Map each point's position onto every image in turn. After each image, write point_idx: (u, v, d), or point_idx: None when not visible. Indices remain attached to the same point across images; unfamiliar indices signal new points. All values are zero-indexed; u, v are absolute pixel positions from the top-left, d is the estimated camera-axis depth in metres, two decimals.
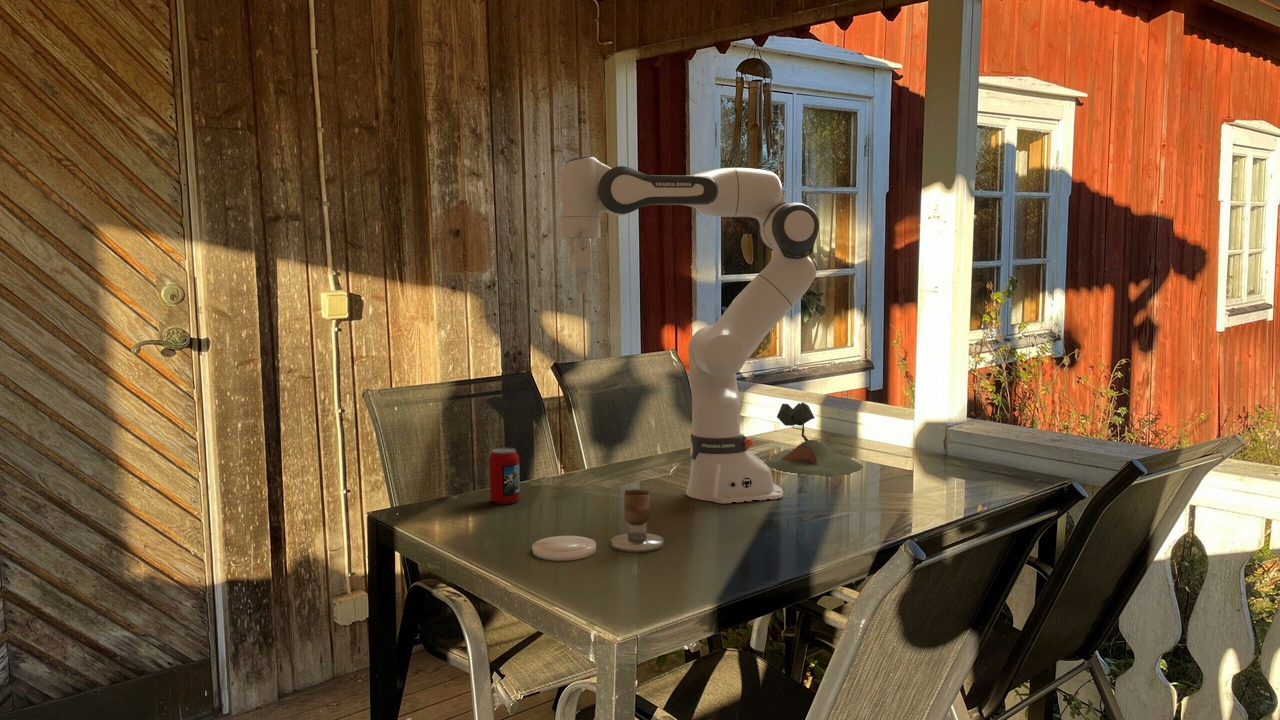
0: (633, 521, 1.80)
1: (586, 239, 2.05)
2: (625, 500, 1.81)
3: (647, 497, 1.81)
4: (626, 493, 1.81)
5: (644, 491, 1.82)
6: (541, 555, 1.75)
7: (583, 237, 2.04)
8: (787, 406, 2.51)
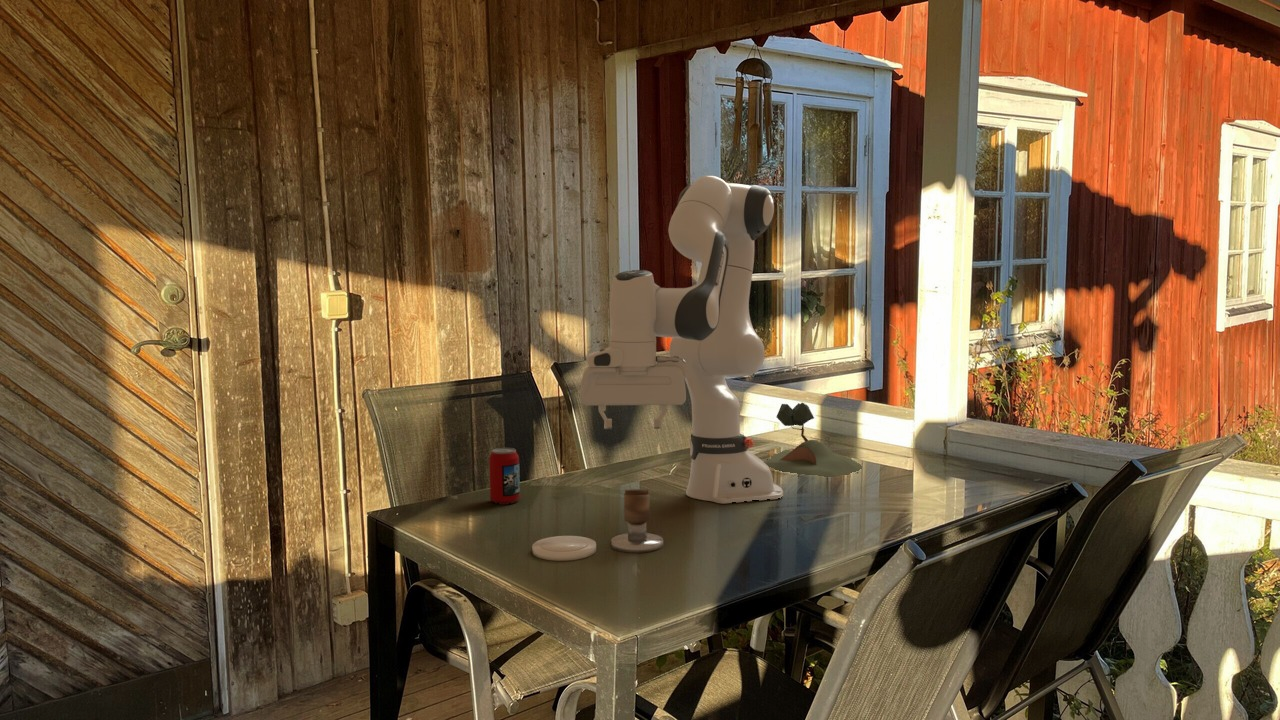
0: (633, 521, 1.80)
1: None
2: (625, 500, 1.81)
3: (647, 497, 1.81)
4: (626, 493, 1.81)
5: (644, 491, 1.82)
6: (541, 555, 1.75)
7: None
8: (787, 406, 2.51)
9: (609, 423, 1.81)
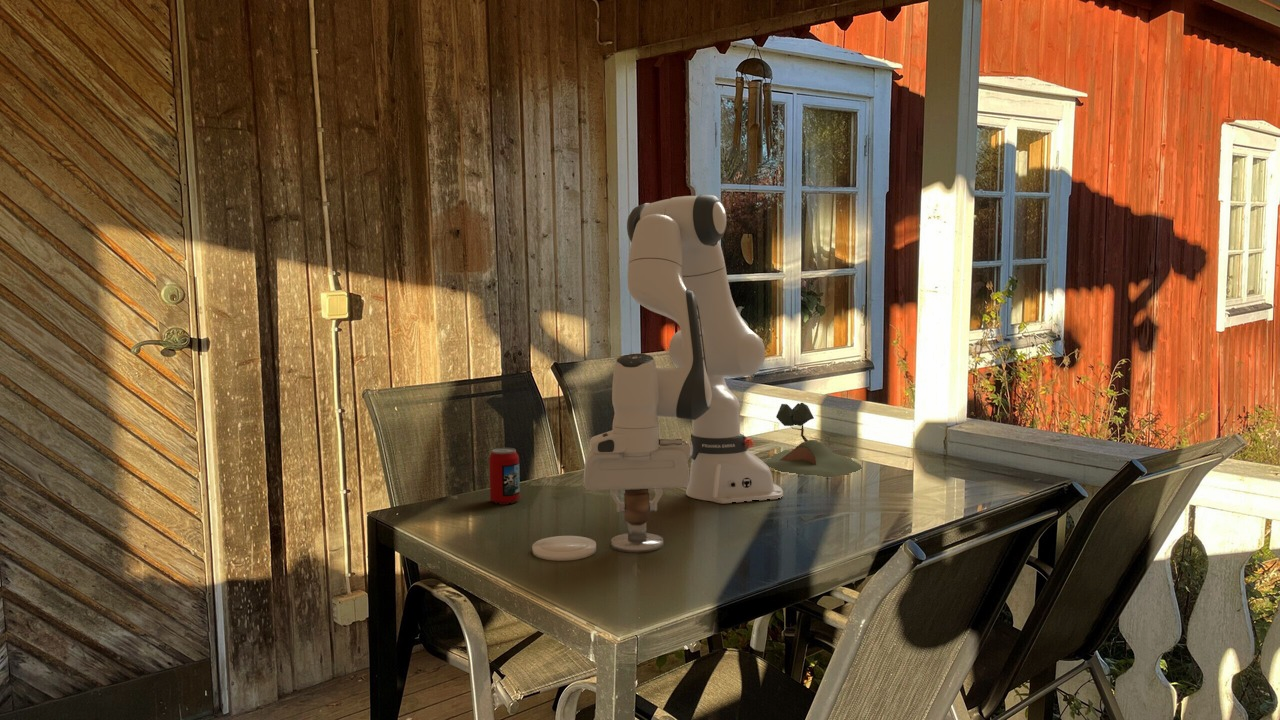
0: (633, 521, 1.80)
1: None
2: (625, 500, 1.81)
3: (647, 497, 1.81)
4: (626, 493, 1.81)
5: (644, 491, 1.82)
6: (541, 555, 1.75)
7: None
8: (786, 406, 2.51)
9: (622, 507, 1.81)
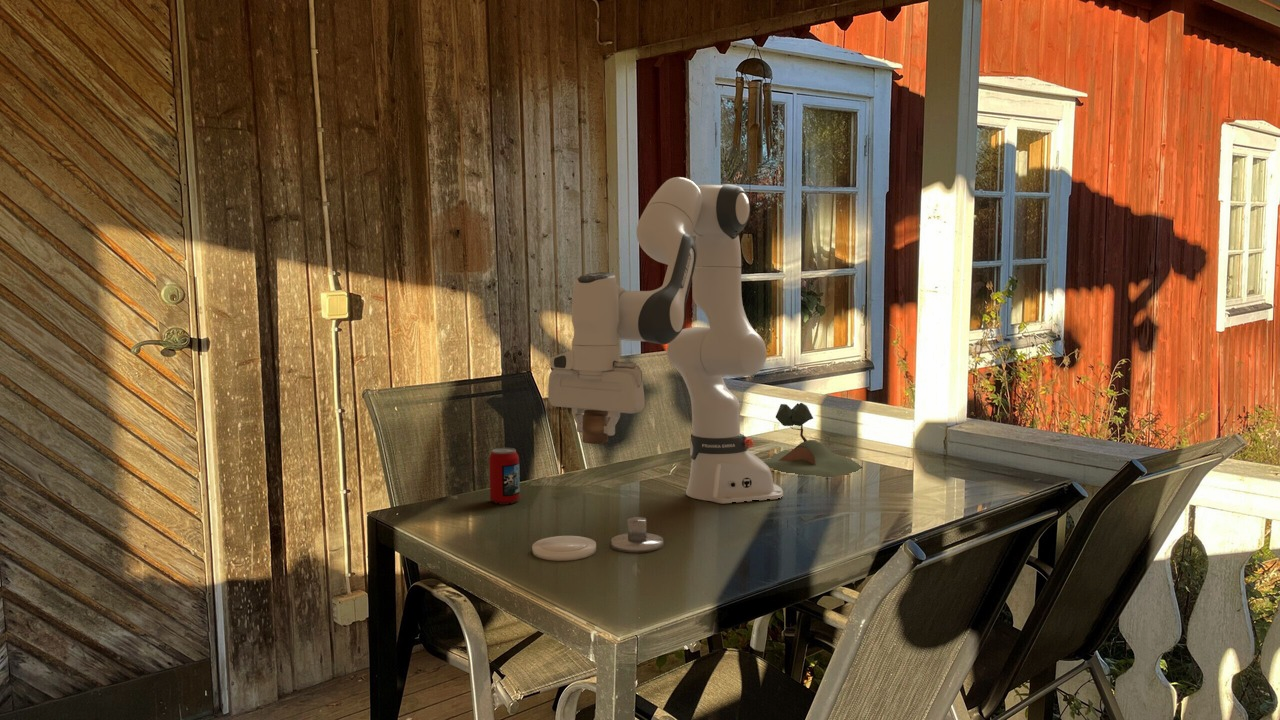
0: (585, 441, 1.77)
1: None
2: None
3: (600, 419, 1.76)
4: (585, 413, 1.79)
5: (600, 413, 1.77)
6: (541, 555, 1.75)
7: (641, 372, 1.72)
8: (786, 406, 2.51)
9: (580, 426, 1.79)
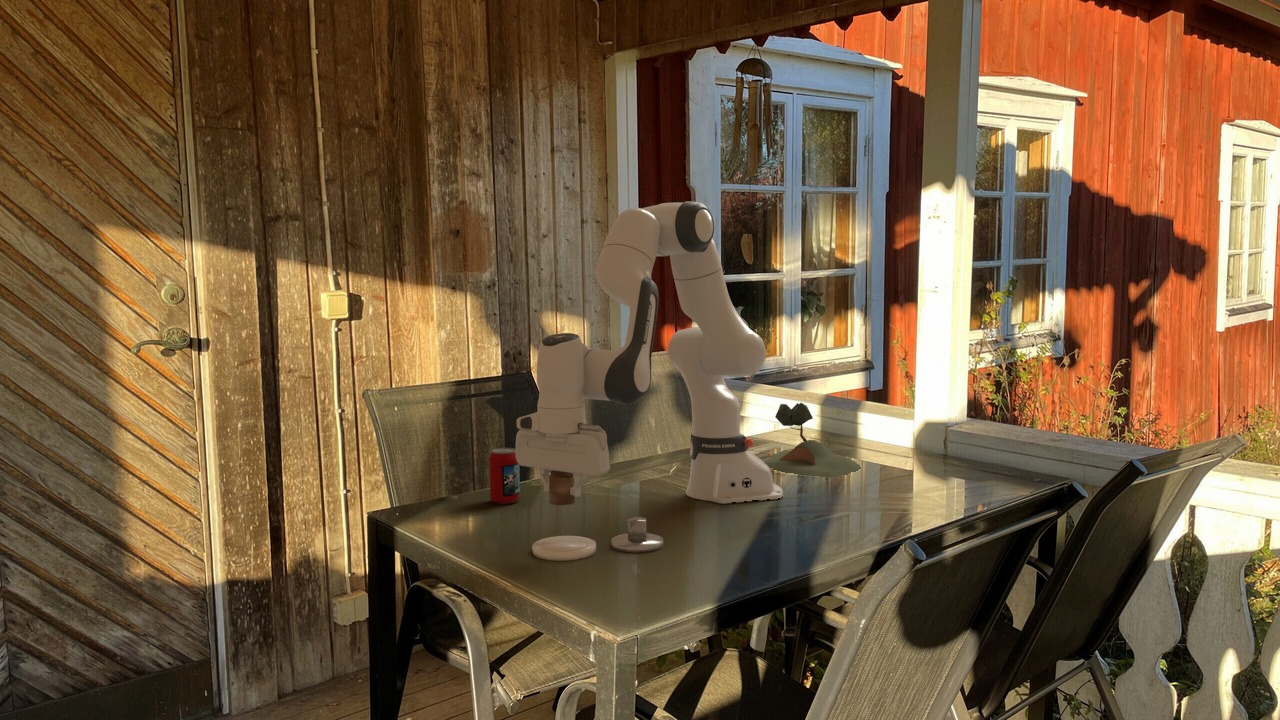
0: (551, 502, 1.77)
1: None
2: None
3: (566, 480, 1.76)
4: (551, 473, 1.79)
5: (566, 474, 1.77)
6: (541, 555, 1.75)
7: (606, 436, 1.72)
8: (785, 406, 2.51)
9: (547, 487, 1.80)
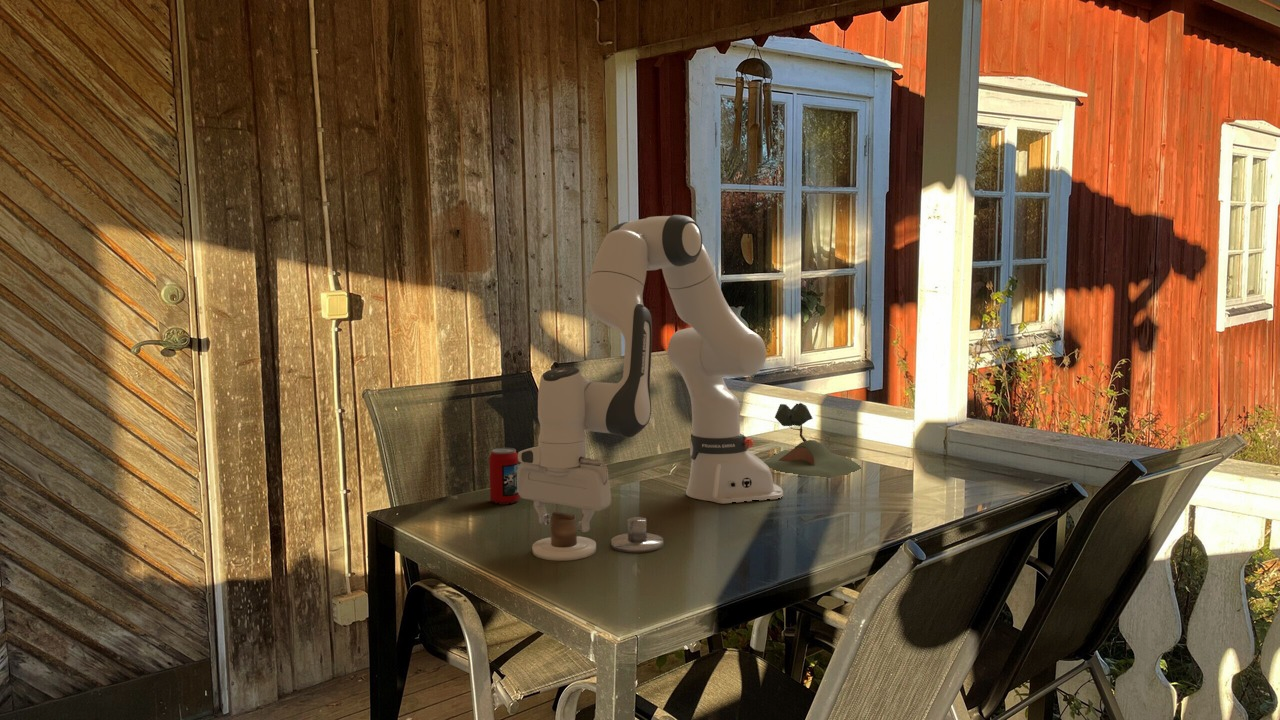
0: (553, 544, 1.78)
1: None
2: None
3: (567, 523, 1.77)
4: (553, 515, 1.80)
5: (568, 516, 1.78)
6: (541, 555, 1.75)
7: (607, 470, 1.73)
8: (785, 406, 2.51)
9: (542, 519, 1.81)
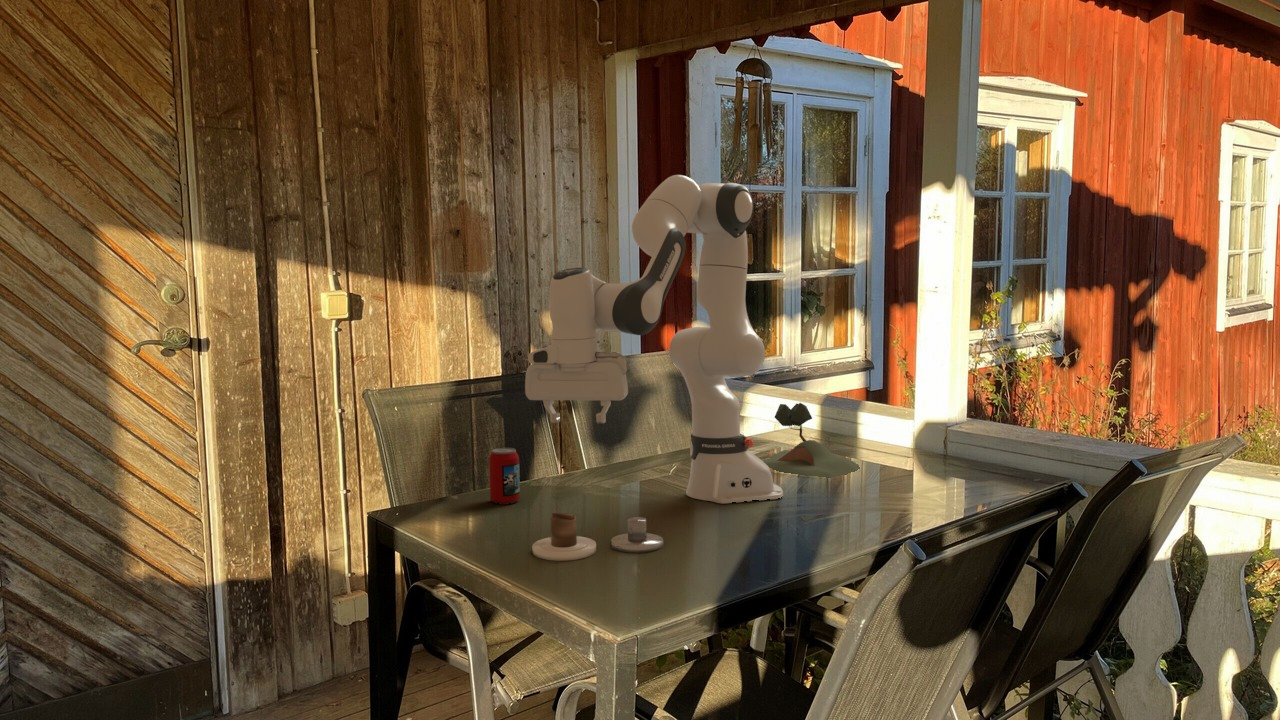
0: (553, 544, 1.78)
1: None
2: None
3: (567, 523, 1.77)
4: (553, 515, 1.80)
5: (568, 516, 1.78)
6: (541, 555, 1.75)
7: (626, 361, 1.82)
8: (785, 406, 2.51)
9: (554, 417, 1.87)
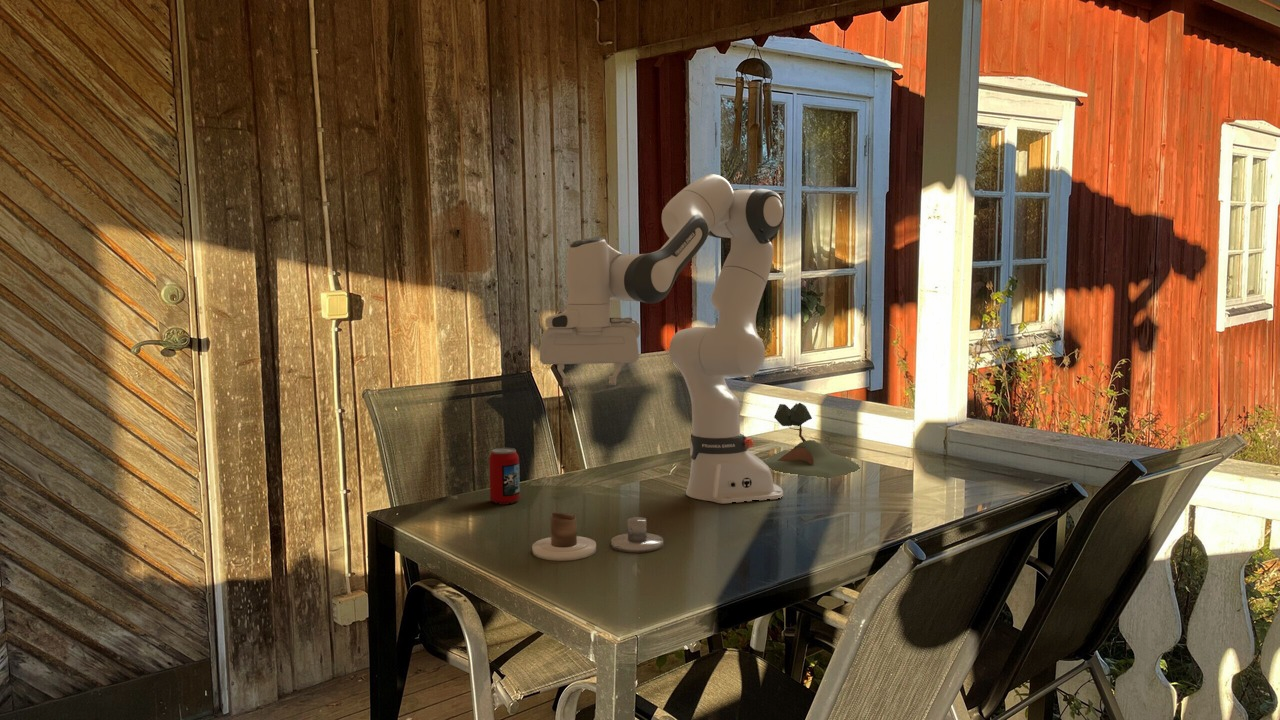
0: (553, 544, 1.78)
1: None
2: None
3: (567, 523, 1.77)
4: (553, 515, 1.80)
5: (568, 516, 1.78)
6: (541, 555, 1.75)
7: None
8: (784, 406, 2.51)
9: (567, 381, 1.94)
